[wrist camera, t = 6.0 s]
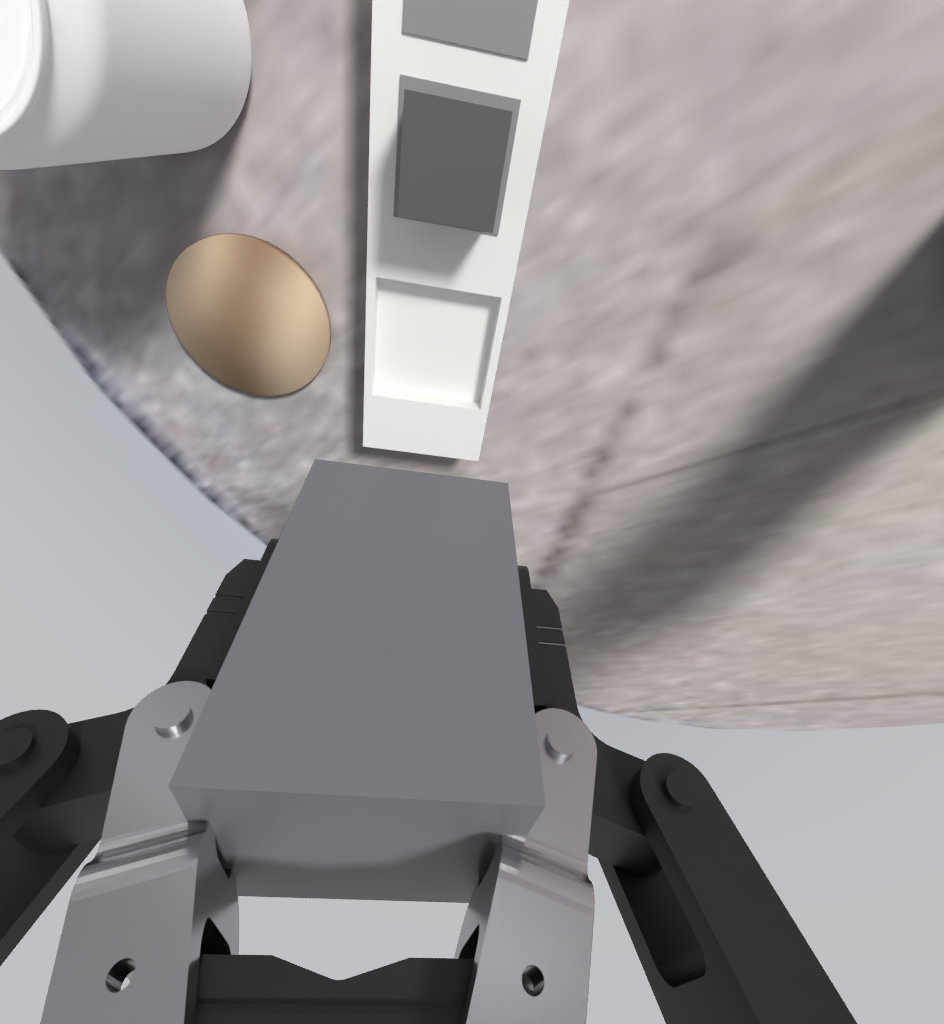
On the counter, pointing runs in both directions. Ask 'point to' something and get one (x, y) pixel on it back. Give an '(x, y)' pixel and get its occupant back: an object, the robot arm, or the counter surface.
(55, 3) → the beverage can
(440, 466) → the counter surface
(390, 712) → the block
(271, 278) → the coaster
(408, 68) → the power strip
